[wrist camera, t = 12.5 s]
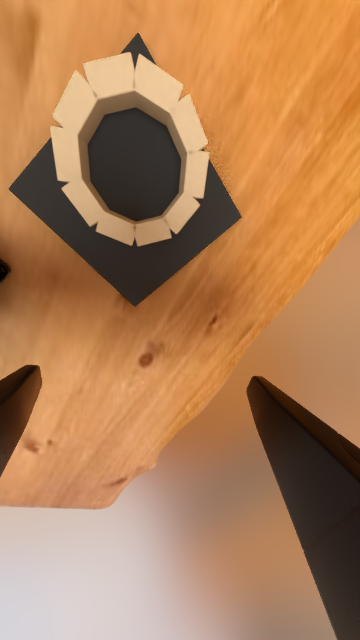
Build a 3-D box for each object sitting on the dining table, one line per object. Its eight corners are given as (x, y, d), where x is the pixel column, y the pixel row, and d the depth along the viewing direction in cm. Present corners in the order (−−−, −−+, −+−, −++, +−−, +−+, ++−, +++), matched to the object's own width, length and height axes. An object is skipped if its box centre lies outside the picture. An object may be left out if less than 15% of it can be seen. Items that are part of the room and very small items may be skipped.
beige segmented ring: (124, 261, 18) (122, 269, 16) (32, 134, 13) (10, 122, 11) (219, 199, 16) (230, 199, 14) (153, 35, 12) (155, 1, 10)
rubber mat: (135, 305, 20) (135, 306, 20) (11, 189, 15) (8, 188, 14) (240, 217, 18) (241, 217, 17) (138, 36, 12) (138, 31, 12)
